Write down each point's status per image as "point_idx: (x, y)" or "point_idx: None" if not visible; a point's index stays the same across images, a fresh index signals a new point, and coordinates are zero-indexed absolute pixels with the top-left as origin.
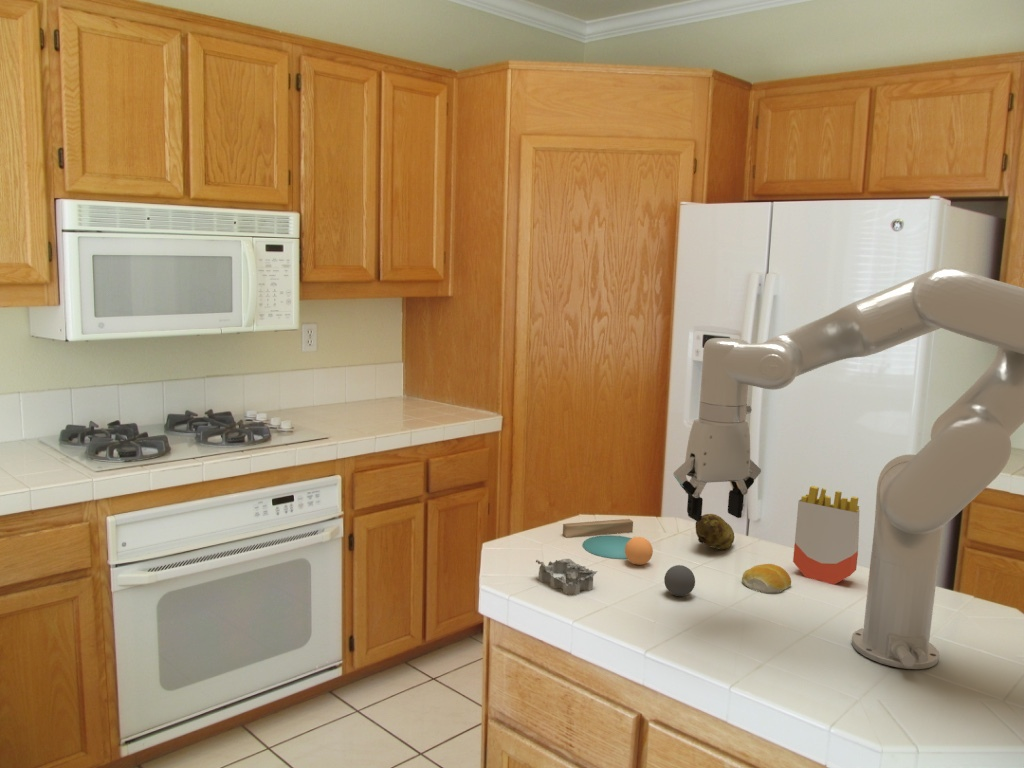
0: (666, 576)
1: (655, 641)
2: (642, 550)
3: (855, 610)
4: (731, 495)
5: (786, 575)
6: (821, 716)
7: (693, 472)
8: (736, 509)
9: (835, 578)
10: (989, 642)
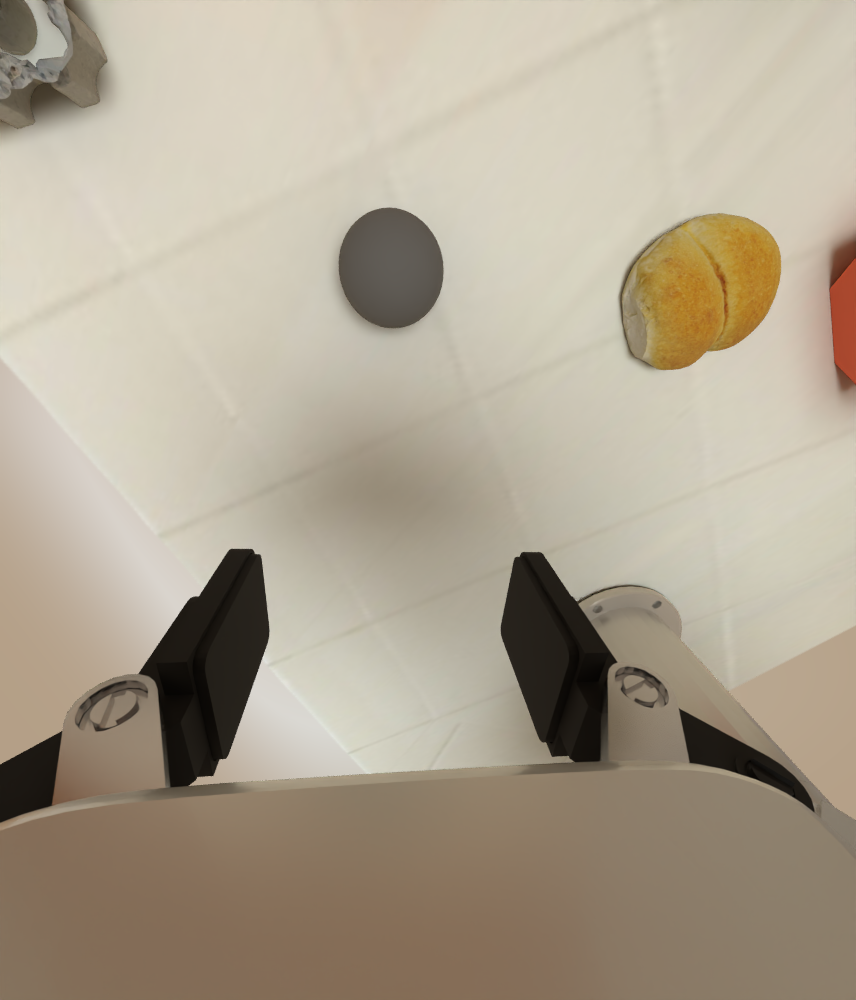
0: (340, 257)
1: (195, 507)
2: None
3: (719, 499)
4: (552, 663)
5: (740, 337)
6: (352, 738)
7: (79, 869)
8: (514, 653)
9: (852, 367)
10: (771, 645)
